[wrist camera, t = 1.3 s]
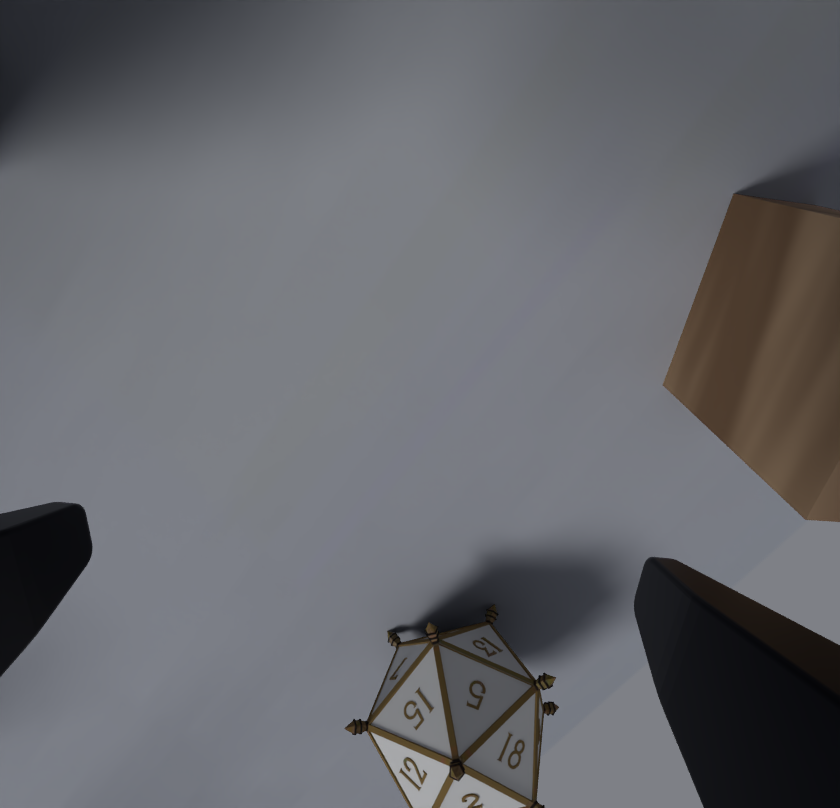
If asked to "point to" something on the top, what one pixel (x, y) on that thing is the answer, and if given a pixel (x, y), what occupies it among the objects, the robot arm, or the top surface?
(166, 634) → the top surface
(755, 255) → the walnut block
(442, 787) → the game die
